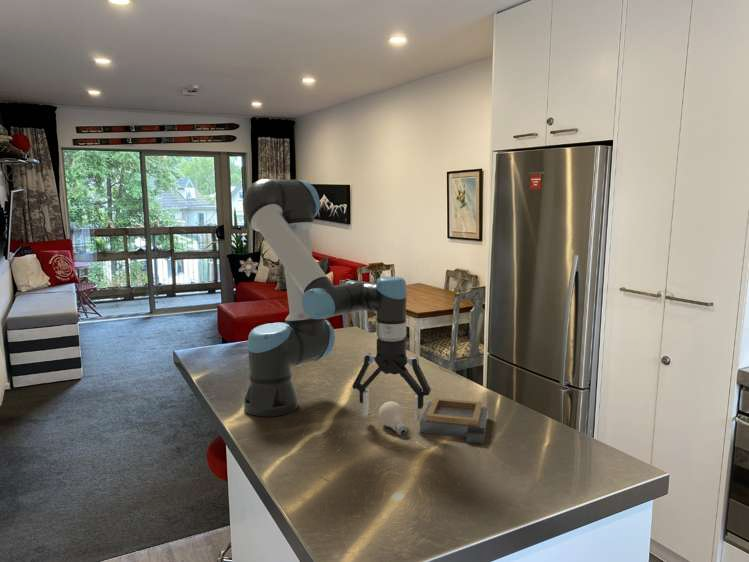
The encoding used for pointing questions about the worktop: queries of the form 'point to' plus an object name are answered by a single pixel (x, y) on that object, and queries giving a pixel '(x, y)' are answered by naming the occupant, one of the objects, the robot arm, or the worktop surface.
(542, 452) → the worktop surface
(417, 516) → the worktop surface
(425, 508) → the worktop surface
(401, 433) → the light bulb
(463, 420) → the grey brown-rimmed square tray
